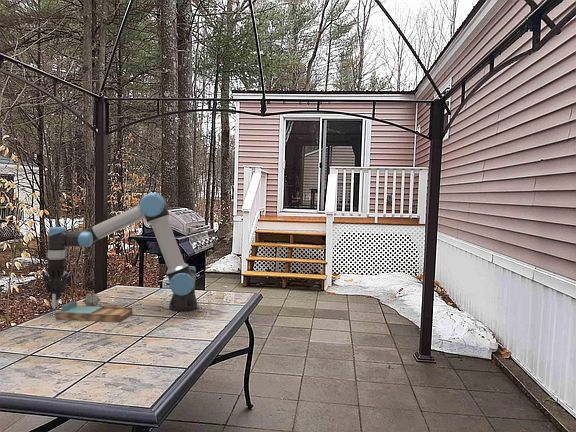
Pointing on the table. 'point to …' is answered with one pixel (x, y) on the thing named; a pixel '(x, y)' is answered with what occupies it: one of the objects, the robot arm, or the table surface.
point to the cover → (78, 308)
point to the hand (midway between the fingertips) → (55, 306)
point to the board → (98, 315)
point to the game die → (91, 299)
